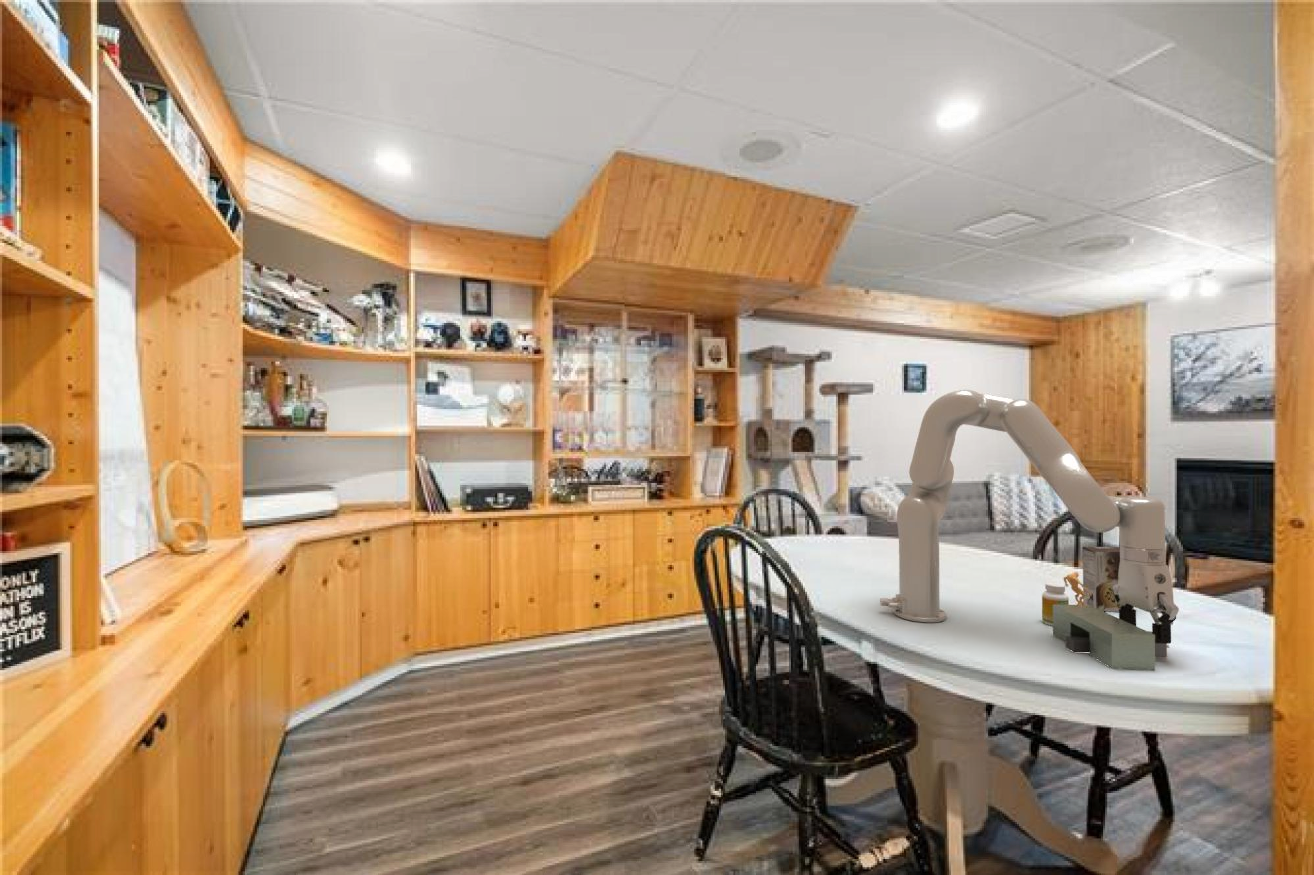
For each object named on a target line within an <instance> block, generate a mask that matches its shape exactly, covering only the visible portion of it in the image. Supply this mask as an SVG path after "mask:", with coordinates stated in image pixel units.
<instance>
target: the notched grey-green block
mask: <svg viewBox="0 0 1314 875" xmlns="http://www.w3.org/2000/svg"><path fill="white" fill-rule="evenodd" d="M1052 635H1054V636H1055V637H1057V638H1059V640H1062V641H1064V642H1065V643H1066V636H1072V637H1090V653H1089V656H1090V657H1091V656H1092V657H1091V658H1093V657H1094V658H1095V659H1094V658H1093V659H1094V660H1096V659H1098V660H1099V661H1101V662H1102V663H1101V662H1100V663H1101V664H1103V663H1104V665H1105V664H1106V665H1108V666H1109V668H1110V667H1111V668H1123V669H1122V670H1137V669H1155V670H1156V657H1155V635H1154V634H1152V633H1150V632H1148V630H1145V629H1144V628H1141V627H1138V626H1137V625H1136V626H1134V625H1132V624H1130V623H1128V622H1125V621H1123V620H1121V619H1119V617H1116V616H1114V615H1112V614H1110V613H1107V612H1104V611H1101V610H1099V609H1097V608H1094V607H1092V606H1090V605H1077V604H1069V605H1060V604H1053V626H1052ZM1098 660H1097V661H1098ZM1099 661H1098V662H1099ZM1106 665H1105V666H1106ZM1108 666H1107V667H1108ZM1111 668H1110V669H1111Z"/></svg>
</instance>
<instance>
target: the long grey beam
mask: <svg viewBox="0 0 1314 875" xmlns="http://www.w3.org/2000/svg"><path fill="white" fill-rule="evenodd" d="M1147 631H1148V630H1147ZM1148 632H1150V633H1152V630H1150V631H1148ZM1065 647H1066V649H1068V650H1069V651H1071V650H1072V651H1073V652H1072V651H1071V652H1072V653H1074V652H1090V637H1072V636H1066V642H1065ZM1168 649H1170V646H1169V644H1161V643H1155V658H1165V657H1167V658H1168Z"/></svg>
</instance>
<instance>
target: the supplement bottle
mask: <svg viewBox="0 0 1314 875" xmlns="http://www.w3.org/2000/svg"><path fill="white" fill-rule="evenodd" d="M1044 585H1045V586H1044V587H1045V590H1046V591H1043V592H1042V594H1041V595H1042V596H1041V621H1042V622H1043V623H1044V624H1046V625H1049V626H1052V627H1053V604H1060V605H1070V604H1069V602H1070V600H1069V599H1070V598H1069V595H1068V594H1066V593H1065V592H1066V586H1065V584H1063V583H1057V582H1046V583H1045V584H1044Z"/></svg>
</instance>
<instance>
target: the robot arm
mask: <svg viewBox="0 0 1314 875" xmlns="http://www.w3.org/2000/svg"><path fill="white" fill-rule="evenodd" d="M963 425H967V426H972V427H979V428H983V429H986V430H987V429H989V430H994V431H997V432H998V431H999V432H1004V433H1006V434H1008V436H1009V437H1010V438H1011V440H1012V441H1013V442H1014V443H1015V445H1017V447H1018V448H1019V449H1020V451H1021V452H1022V453H1023V454H1024V456H1025V457H1026V459H1027V460H1028V461H1029V462H1030V463H1031V465H1032V466H1033V467H1034V468H1035V469H1036V472H1038V474H1039V475H1040V477H1041V478H1042V479H1043V480H1044V481H1045V482H1046V483H1047V484H1048V485H1049V486H1050V487H1051V489H1052V490H1053V492H1055V494H1056V495H1057V497H1058V498H1059V499H1060V501H1061V502H1062V503H1063V504H1064V506H1066V508H1067V510H1068V511H1069V512H1070V513H1071V514H1072V516H1073V517H1074V518H1075V519H1076V521H1077V522H1078V523H1079V524H1080V526H1082V527H1083V528H1084V529H1086V530H1088V531H1090V532H1093V533H1107V532H1110V531H1112V530H1114V529H1115V528H1118V529H1119V548H1120V565H1119V573H1118V584H1116V585H1114V586H1113V587H1112V588H1113V591H1114V594H1115V599H1116V601H1117V607H1118V609H1119V612H1118V618H1119V619H1121V620H1123V621H1125V622H1128V623H1130V624H1132V625H1134V626H1136V627H1137V610H1136V609H1133V608H1137V609H1139V610H1142V611H1144V612H1147V613H1149V614H1150V616H1151V618H1152V620H1153V621H1154V622H1152V624H1151V632H1152V634H1154V635H1155V643H1161V644H1167V645H1169V644H1171V643H1172V626H1173V625H1174V622H1175V621H1176V620H1177V615H1178V613H1179V610H1180V609H1179V607H1178V606H1177V605H1176V603H1174V602H1175V601H1174V590H1173V589H1174V588H1173V581H1172V577H1171V572H1170V569H1169V566H1168V565H1167V562H1166V561H1167V560H1166V559H1167V558H1166V555H1167V554H1166V511H1165V509H1166V508H1165V503H1164V502H1163V501H1162V500H1161V499H1159V498H1154V497H1147V496H1127V497H1120V496H1112V495H1107V493H1106V491H1104V490H1103V489H1102V487H1101V486H1100V485H1099V484H1098V482H1097V481H1096V480H1095V479H1094V477H1093V476H1092V475H1091V473H1090V472H1089V471H1088V469H1086V467H1085V466H1084V464H1083V463H1082V461H1081V460H1080V457H1079V455H1078V454H1077V453H1076V451H1075V450H1074V449H1073V447H1072V446H1071V444H1069V442H1068V440H1066V439H1065V438H1064V436H1063V435H1062V434H1061V433H1060V432H1059V430H1058V429H1057V428H1056V427H1055V425H1054V424H1053V423H1052V422H1051V421H1050V419H1049V418H1048V417H1047V416H1046V415H1045V413H1044V412H1043V411H1042V410H1041V409H1040V407H1039V406H1038V405H1037V404H1036V403H1034V402H1033V401H1032V400H1028V399H1023V398H1020V399H1019V398H1018V399H1014V398H1013V399H1012V398H1005V397H1001V396H994V395H989V394H983V393H979V392H978V391H975V390H972V389H958V390H955V391H952V392H948V393H947V394H943V395H942V396H940V397H939V398H937V399H935V400H934V401H933V402H932V403H931V404H930V405H929V406H928V408H927V410H926V411H925V413H924V415H923V418H922V421H921V424H920V427H919V430H918V431H919V432H918V435H917V438H916V443H915V446H914V449H913V455H912V458H911V462H910V466H909V470H908V473H909V478H910V480H911V482H912V484H911V487H910V488H911V489H910V492H909V495H907V496H906V497H904V498H903V499H902V500H901V501H900V502H899V505H898V507H897V512H896V522H897V532H898V556H899V558H898V563H899V564H898V568H899V569H898V570H899V572H898V575H899V576H898V578H899V580H898V581H899V582H898V584H899V585H898V588H899V589H898V590H899V594H897V593H895V597H894V596H893V597H892V598H887V597H886V598H885V597H882V598H880V599H879V604H880V606H882V607H888V608H889V609H891V608H892V613H893V614H894V616H897V617H899V618H901V619H904V620H908V621H911V622H912V621H913V622H921V623H939V622H943V621H945V620H946V619H947V613H946V611H944V610H942V609H941V608H940V607H941V606H940V537H939V536H940V534H939V522H941V520H942V519H943V517H944V516H945V512H946V509H947V504H948V500H949V496H950V492H951V488H952V485H953V484H952V483H953V479H954V476H955V475H954V473H955V471H954V470H955V469H954V464H953V462H952V461H951V456H952V451H953V448H954V446H955V441H956V434H957V431H958V429H959V428H960V427H961V426H963ZM1159 614H1161V615H1160V616H1159Z"/></svg>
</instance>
